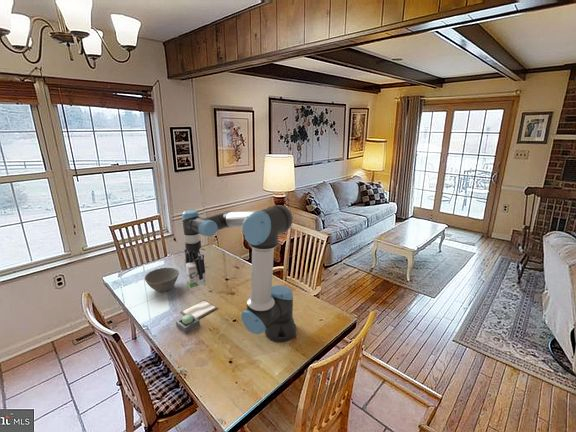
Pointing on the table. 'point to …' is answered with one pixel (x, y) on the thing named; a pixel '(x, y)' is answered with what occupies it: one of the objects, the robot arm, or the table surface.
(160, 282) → the bowl
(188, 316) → the button
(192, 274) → the ink box
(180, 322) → the button housing
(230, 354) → the table surface
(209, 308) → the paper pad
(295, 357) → the table surface
